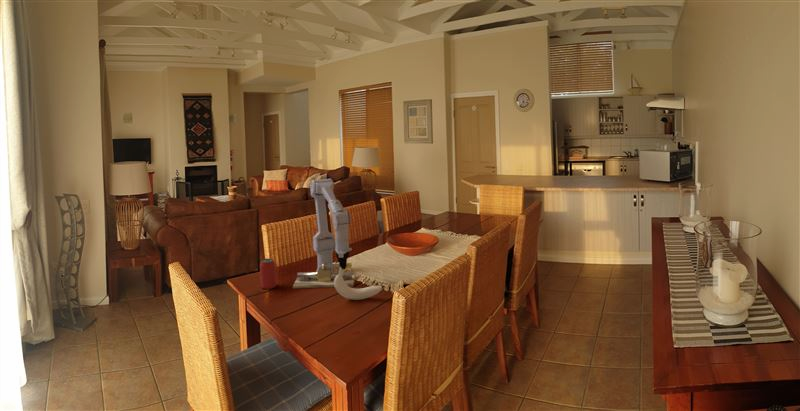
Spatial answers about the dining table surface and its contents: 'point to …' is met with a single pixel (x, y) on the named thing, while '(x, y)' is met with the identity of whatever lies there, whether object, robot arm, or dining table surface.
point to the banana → (351, 292)
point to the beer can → (268, 273)
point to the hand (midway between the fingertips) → (343, 268)
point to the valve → (323, 274)
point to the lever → (336, 265)
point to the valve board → (321, 283)
